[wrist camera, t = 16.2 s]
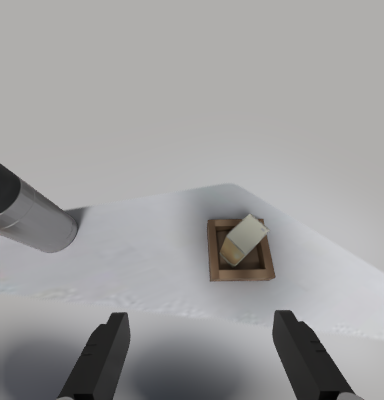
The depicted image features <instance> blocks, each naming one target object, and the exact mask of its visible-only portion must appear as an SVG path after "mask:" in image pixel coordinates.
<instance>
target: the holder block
mask: <svg viewBox="0 0 384 400" xmlns="http://www.w3.org/2000/svg"><path fill="white" fill-rule="evenodd" d="M242 220H243V219H226V220H208V223H207V236H208V254H209V272H210V281H263V280H271V279H273V278H275V273H274V268H273V263H272V259H271V254H270V249H269V244H268V240H267V235H265V236H264V237H263V239H262V240H261V241H260V242H259V243H258V244H257V245H256V246H255V247H254V248H253V249H252V250H251V251H250V252H249V253H248V254H247V255H246V256H245V257H244V258H243V259H242V260H241V261H240V262H239V263H238V264H237V265H236V266H235V267H234V268H232V267H231V266H230V265H229V264H228V262H227V261H226V260H225V259H224V258H223V257H222V256H221V255H220V254H219V252H220V250H221V248H222V245H223V243H224V241H225V238H226V236H227V235H228V234H229V233H230V232H231V231H232V230H233V229H234V228H235V227H236V226H237V225H238V224H239V223H240V222H241V221H242ZM258 220H259V221H260V222H261V223H262V224H263V225H264V221H263V219H258ZM264 226H265V225H264Z"/></svg>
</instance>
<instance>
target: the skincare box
mask: <svg viewBox="0 0 384 400" xmlns="http://www.w3.org/2000/svg"><path fill="white" fill-rule="evenodd" d="M269 231H270V230H269V229H268V228H267V227H266V226H264V225H263V224H262V223H261V222H260V221H259V220H258V219H257V218H255V217H254V216H253V215H252V214H249V215H248V216H246V217H245V218H244V219H243V220H242V221H241V222H240V223H239V224H238V225H237V226H236V227H235V228H234V229H233V230H232V231H231V232H230V233H229V234H228V235H227V236H226V238H225V241H224V243H223V245H222V248H221V250H220V252H219V254H220V255H221V256H222V257H223V258H224V259H225V260H226V261H227V262H228V264H229V265H230V266H231V267H232V268H234V267H235V266H236V265H237V264H238V263H239V262H240V261H241V260H242V259H243V258H244V257H245V256H246V255H247V254H248V253H249V252H250V251H251V250H252V249H253V248H254V247H255V246H256V245H257V244H258V243H259V242H260V241H261V240H262V239H263V237H264V236H265V235H266V234H267V233H268V232H269Z"/></svg>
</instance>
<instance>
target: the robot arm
mask: <svg viewBox="0 0 384 400" xmlns="http://www.w3.org/2000/svg"><path fill="white" fill-rule="evenodd" d="M76 233H77V223H76V221H75V220H74V219H73V218H72V217H71V216H69V215H68V214H67V213H66V212H64V211H63V210H62V209H60V208H59V207H58V206H56V205H55V204H54V203H52V202H51V201H50V200H48V199H47V198H46V197H44V196H43V195H42V194H41V193H39V192H37V190H35V189H34V188H33V187H31V186H30V185H28V184H27V183H26V182H24V181H23V180H22V179H20V178H19V177H18V176H16V175H15V174H14V173H12V172H11V171H9V170H8V169H7V168H5V167H4V166H3V165H2V164H0V235H2V236H4V237H7V238H9V239H12V240H15V241H17V242H20V243H22V244H25V245H28V246H30V247H32V248H35V249H38V250H40V251H43V252H47V253H53V252H57V251H60V250H62V249H64V248H65V247H67V246H68V245H69V244H70V243H71V242H72V241H73V239H74V237H75V235H76ZM272 335H273V341H274V344H275V347H276V350H277V352H278V355H279V357H280V359H281V362H282V364H283V367H284V369H285V371H286V374H287V376H288V378H289V381H290V383H291V386H292V388H293V391H294V393H295V395H296V398H297V400H364V399H362V398H361V397H359V396H357V395H356V394H355V393H354V392H353V390H352V389H351V387H350V386H349V384H348V383H347V382H346V380H345V378H344V377H343V375H342V374H341V372H340V371H339V369H338V367H337V366H336V364H335V363H334V361H333V360H332V358H331V357H330V355H329V354H328V353H327V352H326V349H325V348H324V346H323V345H322V344H321V343H320V340H319V339H318V337H317V336H316V334H315V333H314V331H313V330H312V329H311V328H310V327H309V326H308V325H307V324H305V323H304V322H303V321H300V322H298V321H297V319H296V317H295V316H294V314H293V312H292V311H290V310H276V311H275V314H274V323H273V331H272ZM129 344H130V328H129V320H128V314H127V313H126V312H122V313H112V314H111V316H110V318H109V320H108V322H107V324H100V325H99V326H98V327H97V329H96V330H95V331H94V332H93V333H92V334H91V336H90V338H89V340H88V342H87V344H86V346H85V347H84V349H83V351H82V353H81V356H80V357H79V359H78V361H77V362H76V364H75V366H74V368H73V370H72V372H71V374H70V376H69V378H68V379H67V381H66V383H65V385H64V387H63V389H62V391H61V393H60V394H59V396H58V398H57V399H56V400H113V396H114V393H115V390H116V387H117V384H118V380H119V377H120V374H121V370H122V367H123V364H124V361H125V358H126V355H127V351H128V348H129Z"/></svg>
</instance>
